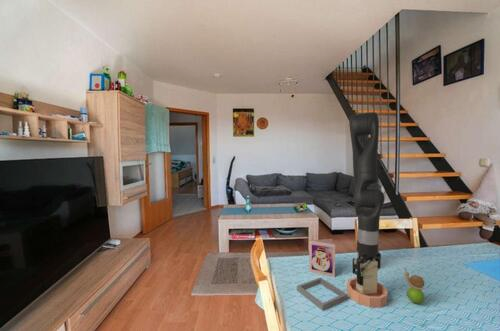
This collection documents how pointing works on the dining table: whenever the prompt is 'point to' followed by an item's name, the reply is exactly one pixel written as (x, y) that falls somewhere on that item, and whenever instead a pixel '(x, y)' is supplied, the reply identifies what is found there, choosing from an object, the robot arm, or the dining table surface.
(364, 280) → the skincare box
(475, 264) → the dining table surface
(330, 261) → the greeting card
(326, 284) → the open rectangular frame
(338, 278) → the dining table surface
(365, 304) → the bowl
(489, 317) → the dining table surface
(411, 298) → the snail figurine
